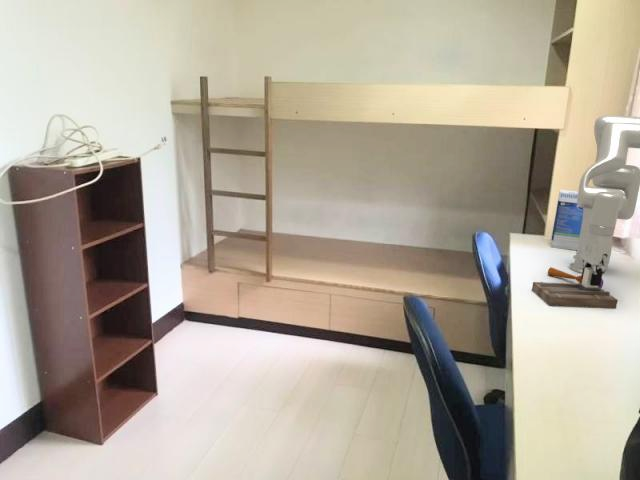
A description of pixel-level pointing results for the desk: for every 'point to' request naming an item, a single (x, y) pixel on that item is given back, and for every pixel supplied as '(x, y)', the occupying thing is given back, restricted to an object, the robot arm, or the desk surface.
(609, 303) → the brown slider board
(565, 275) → the kendama
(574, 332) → the desk surface
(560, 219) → the string lights box
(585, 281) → the fader tab
